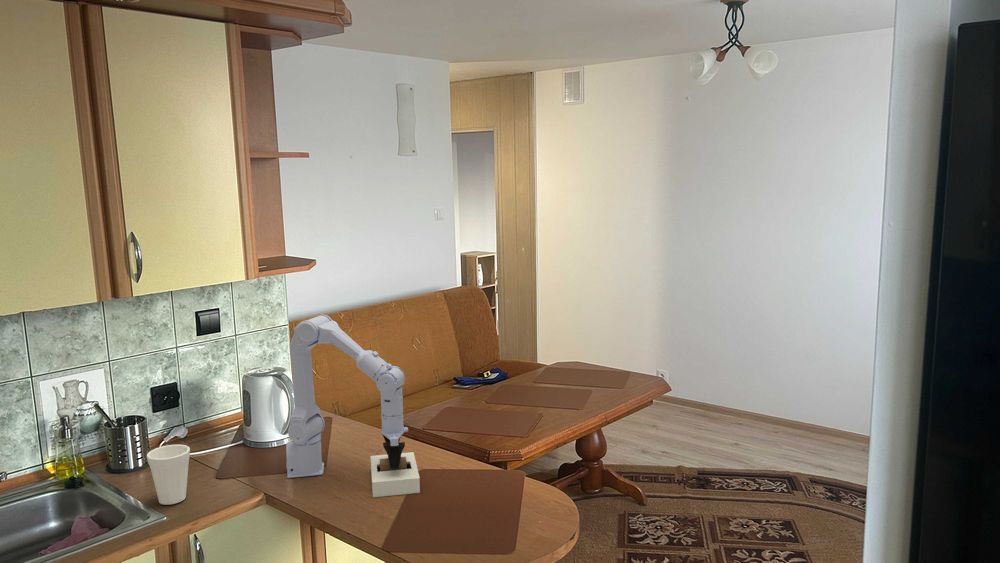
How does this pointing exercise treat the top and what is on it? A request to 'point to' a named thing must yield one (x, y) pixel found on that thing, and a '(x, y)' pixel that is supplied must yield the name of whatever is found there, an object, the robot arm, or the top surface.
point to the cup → (170, 472)
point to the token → (386, 466)
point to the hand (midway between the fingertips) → (393, 462)
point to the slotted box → (395, 477)
